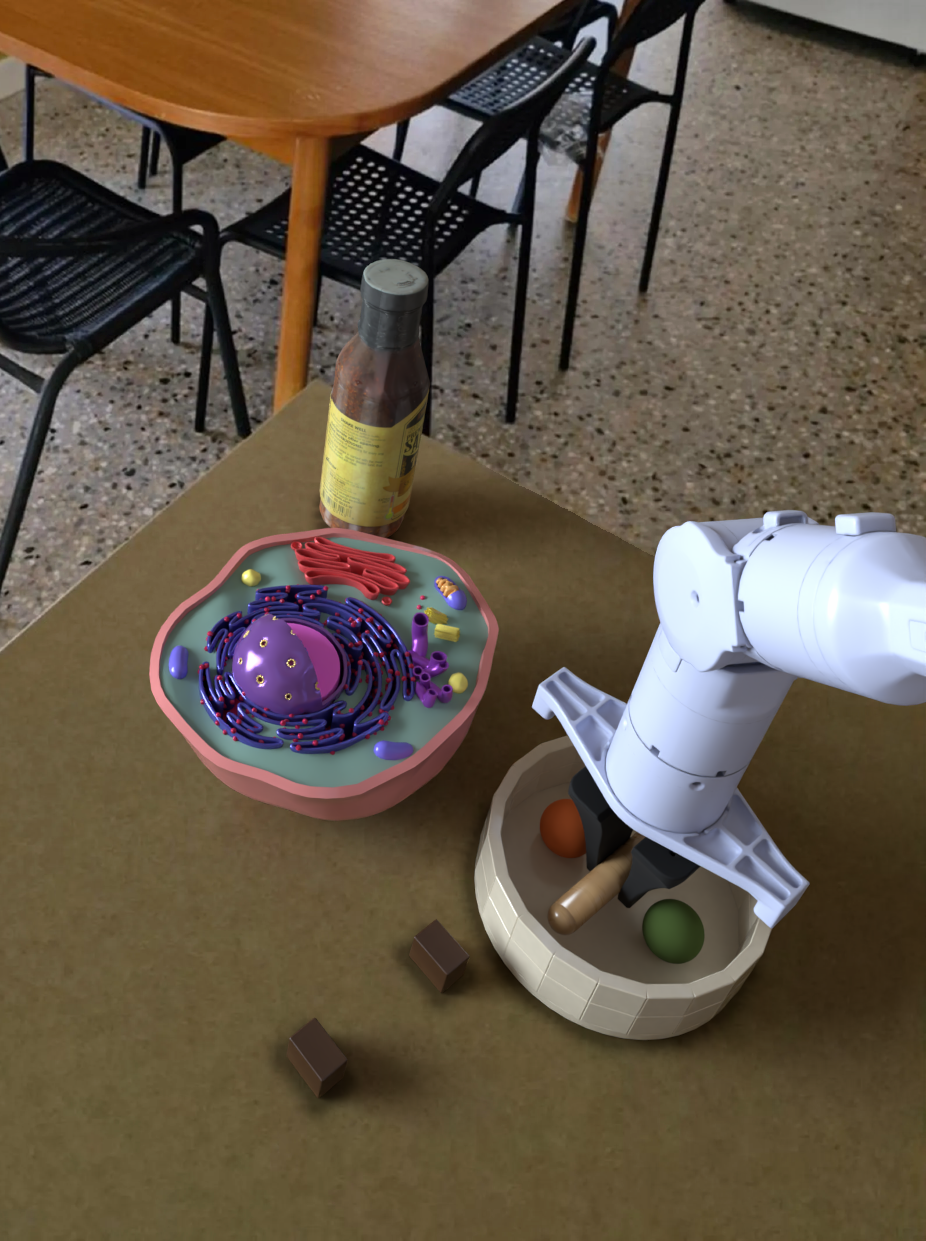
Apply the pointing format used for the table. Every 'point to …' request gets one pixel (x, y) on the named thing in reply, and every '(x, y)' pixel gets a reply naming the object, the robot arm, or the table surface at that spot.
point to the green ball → (673, 931)
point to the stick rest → (321, 1054)
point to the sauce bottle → (377, 405)
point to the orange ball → (563, 829)
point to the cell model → (327, 670)
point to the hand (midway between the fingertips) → (619, 877)
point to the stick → (593, 890)
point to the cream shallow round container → (601, 921)
